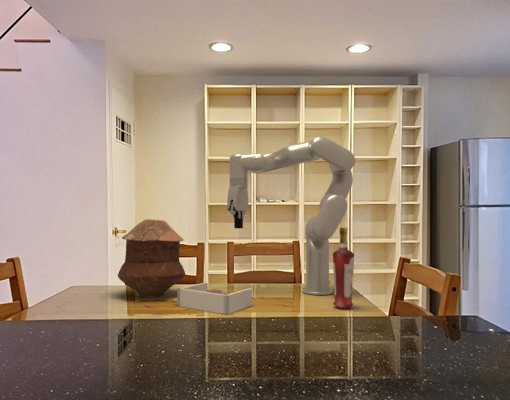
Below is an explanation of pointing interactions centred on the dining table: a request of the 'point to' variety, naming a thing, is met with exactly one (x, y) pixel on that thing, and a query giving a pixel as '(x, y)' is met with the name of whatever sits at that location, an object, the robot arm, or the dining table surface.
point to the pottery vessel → (151, 258)
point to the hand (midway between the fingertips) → (238, 228)
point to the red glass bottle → (343, 273)
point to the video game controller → (216, 291)
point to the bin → (213, 299)
